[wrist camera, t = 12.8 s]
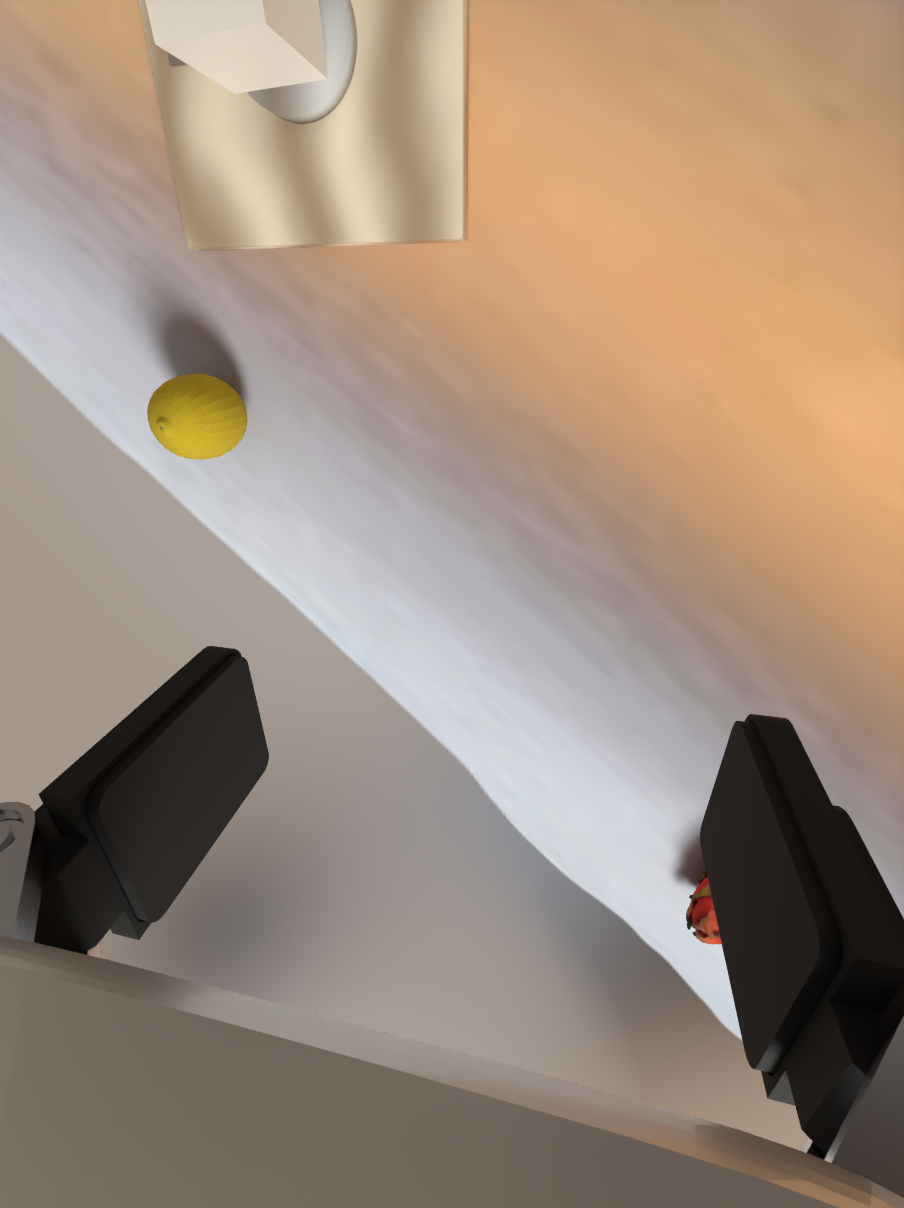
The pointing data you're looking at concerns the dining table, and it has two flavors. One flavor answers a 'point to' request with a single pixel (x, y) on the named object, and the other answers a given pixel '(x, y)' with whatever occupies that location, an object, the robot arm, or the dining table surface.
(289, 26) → the white box
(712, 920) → the dragon fruit
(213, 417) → the lemon
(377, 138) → the base
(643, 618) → the dining table surface
